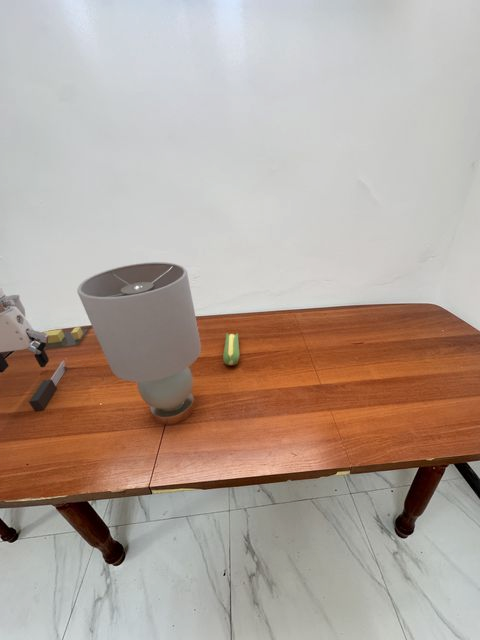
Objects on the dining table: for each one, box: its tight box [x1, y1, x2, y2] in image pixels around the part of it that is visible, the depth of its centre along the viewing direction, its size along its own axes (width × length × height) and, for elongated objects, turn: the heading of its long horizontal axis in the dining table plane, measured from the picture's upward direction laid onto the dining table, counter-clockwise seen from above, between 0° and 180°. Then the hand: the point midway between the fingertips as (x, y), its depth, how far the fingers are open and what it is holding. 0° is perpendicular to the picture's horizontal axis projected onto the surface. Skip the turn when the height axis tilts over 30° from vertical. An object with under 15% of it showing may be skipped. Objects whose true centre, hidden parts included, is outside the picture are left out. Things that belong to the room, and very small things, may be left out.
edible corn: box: [222, 332, 240, 366], centre depth 96 cm, size 5×20×5 cm, turn 4°
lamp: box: [76, 261, 202, 426], centre depth 67 cm, size 20×20×35 cm
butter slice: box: [71, 326, 83, 340], centre depth 108 cm, size 2×4×3 cm, turn 11°
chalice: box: [5, 294, 26, 318], centre depth 105 cm, size 7×7×18 cm
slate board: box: [44, 328, 89, 350], centre depth 109 cm, size 14×12×2 cm
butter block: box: [42, 328, 65, 343], centre depth 107 cm, size 6×4×3 cm, turn 100°
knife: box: [28, 360, 68, 412], centre depth 86 cm, size 2×20×4 cm, turn 10°
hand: (25, 366), depth 76 cm, fingers open, 9 cm apart
